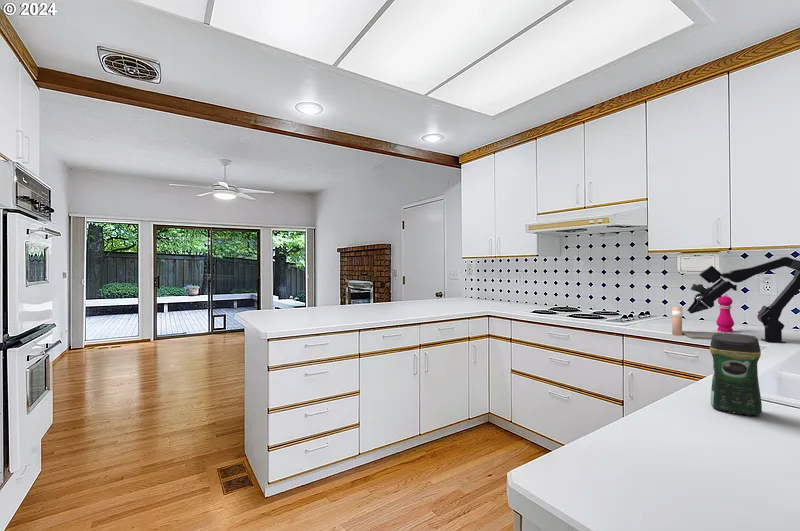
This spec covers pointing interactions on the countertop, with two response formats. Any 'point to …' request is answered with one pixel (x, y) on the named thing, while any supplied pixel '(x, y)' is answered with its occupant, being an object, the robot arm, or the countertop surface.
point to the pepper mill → (725, 314)
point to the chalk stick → (677, 320)
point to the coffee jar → (735, 373)
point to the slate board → (699, 334)
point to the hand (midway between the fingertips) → (689, 311)
